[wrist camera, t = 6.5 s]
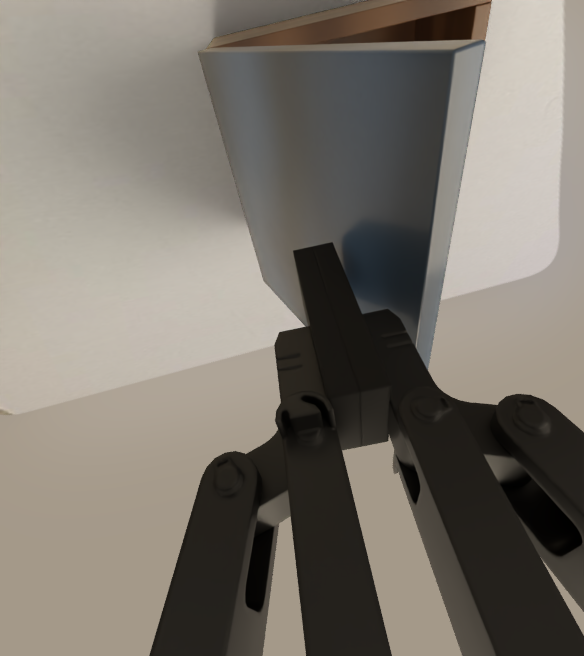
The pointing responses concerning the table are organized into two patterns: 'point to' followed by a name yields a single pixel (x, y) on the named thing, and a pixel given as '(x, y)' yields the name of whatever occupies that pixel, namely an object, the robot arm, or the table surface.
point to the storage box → (372, 24)
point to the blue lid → (351, 162)
